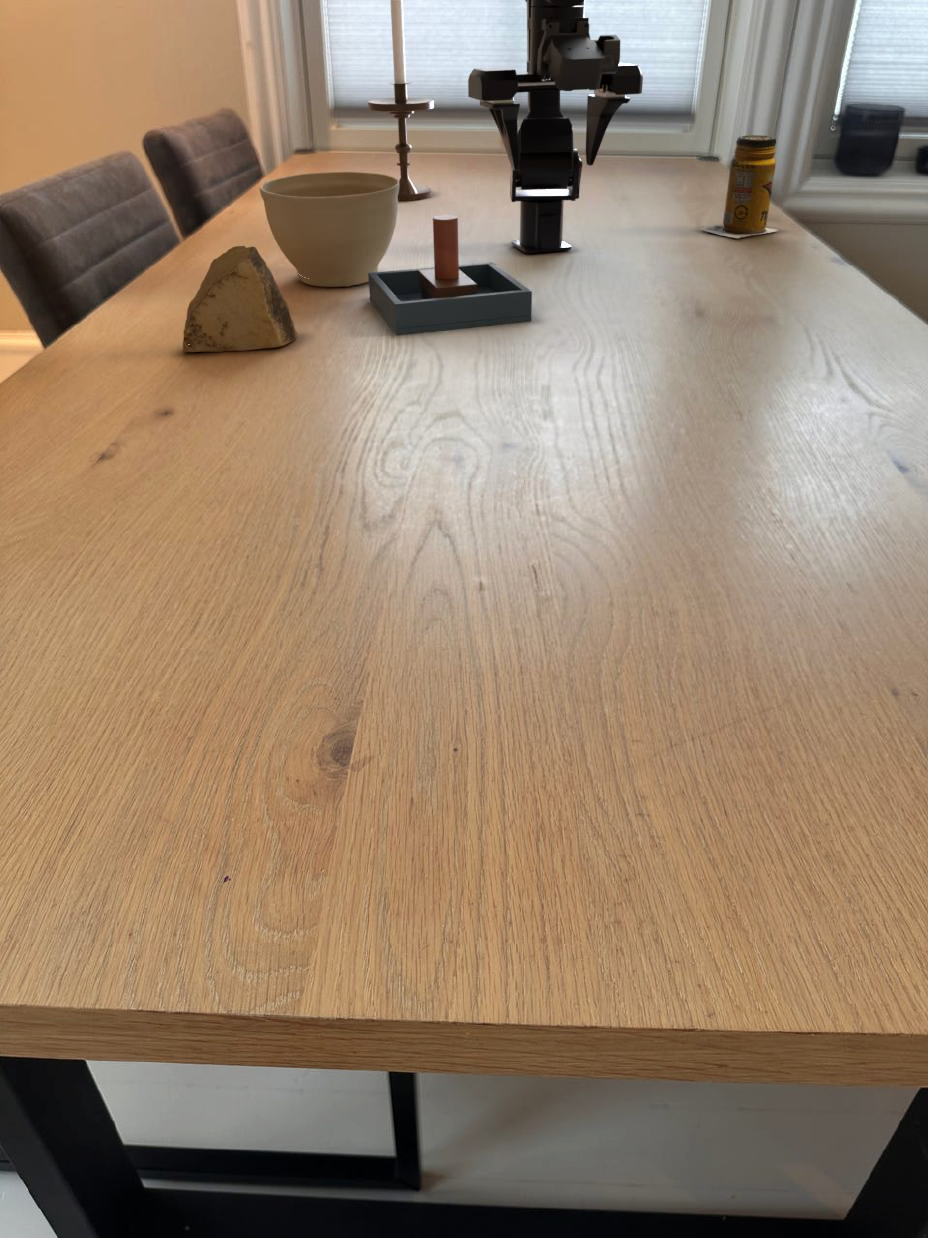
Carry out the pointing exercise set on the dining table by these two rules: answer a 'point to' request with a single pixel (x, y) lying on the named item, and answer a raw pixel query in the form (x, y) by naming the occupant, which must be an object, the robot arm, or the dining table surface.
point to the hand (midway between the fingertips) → (552, 167)
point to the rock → (238, 307)
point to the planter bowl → (332, 223)
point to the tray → (449, 301)
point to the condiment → (748, 188)
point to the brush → (445, 264)
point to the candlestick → (402, 106)
